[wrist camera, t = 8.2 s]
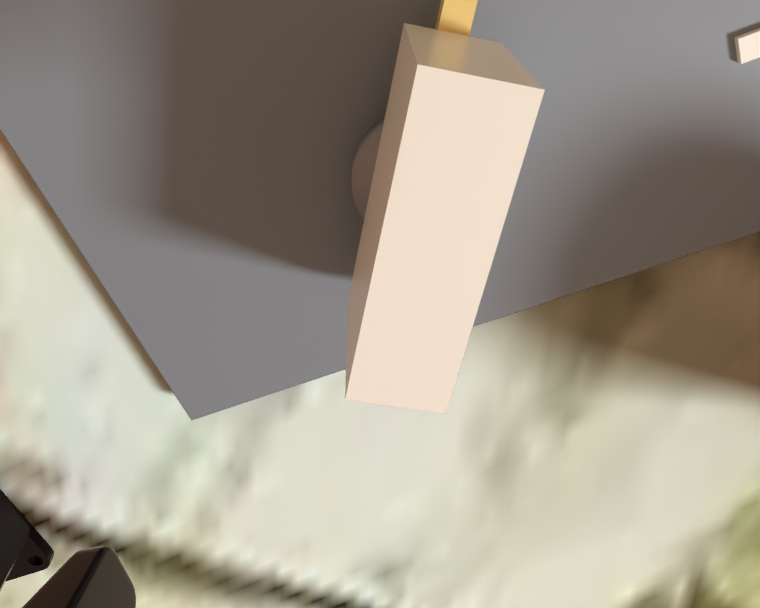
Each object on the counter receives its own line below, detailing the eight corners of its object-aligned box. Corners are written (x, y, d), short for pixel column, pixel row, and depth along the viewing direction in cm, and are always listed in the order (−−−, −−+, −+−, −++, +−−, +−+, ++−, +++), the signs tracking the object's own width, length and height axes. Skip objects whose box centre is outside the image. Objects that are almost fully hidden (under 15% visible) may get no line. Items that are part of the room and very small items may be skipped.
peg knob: (444, 304, 20) (468, 416, 16) (329, 285, 20) (322, 395, 15) (600, -254, 14) (706, -316, 10) (437, -297, 14) (473, -380, 9)
